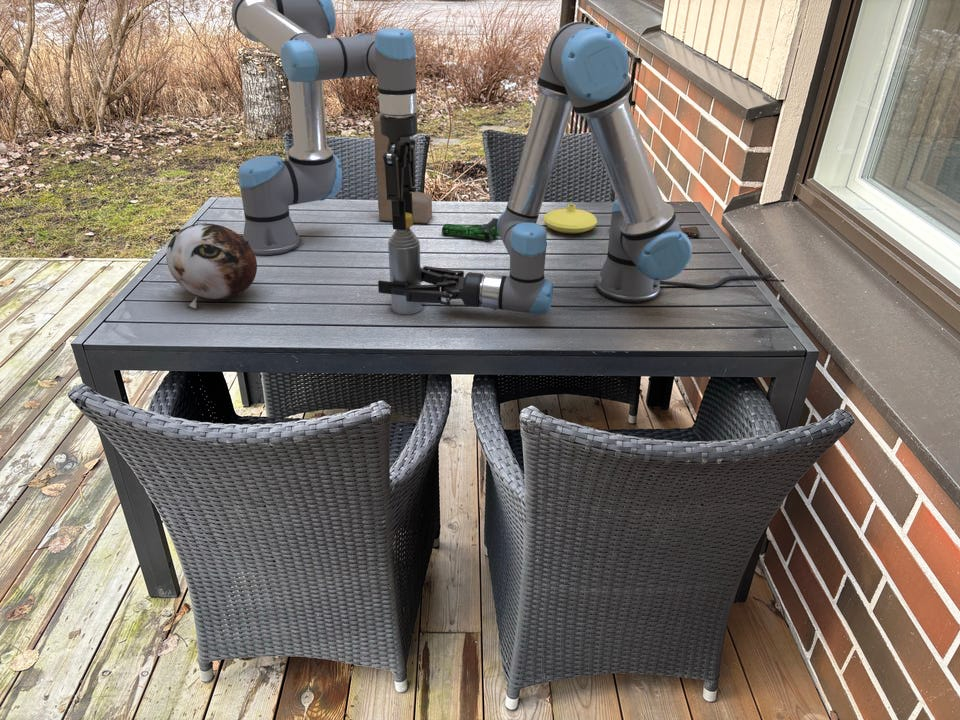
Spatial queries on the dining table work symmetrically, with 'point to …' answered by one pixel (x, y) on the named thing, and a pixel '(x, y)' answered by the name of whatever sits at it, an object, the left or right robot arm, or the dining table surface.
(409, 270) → the bottle
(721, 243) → the dining table surface
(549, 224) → the yellow pot lid
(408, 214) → the cap
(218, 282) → the cat face ball
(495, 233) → the handgun
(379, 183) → the decorative block
